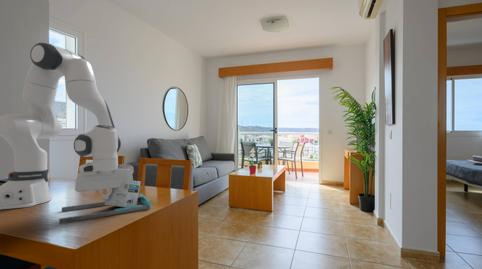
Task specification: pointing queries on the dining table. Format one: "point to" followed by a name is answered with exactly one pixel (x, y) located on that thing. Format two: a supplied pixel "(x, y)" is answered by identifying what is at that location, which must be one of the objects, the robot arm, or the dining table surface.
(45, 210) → the dining table surface
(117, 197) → the light bulb box
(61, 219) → the rail frame
